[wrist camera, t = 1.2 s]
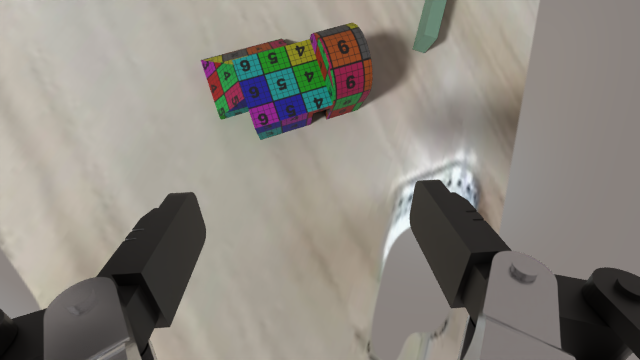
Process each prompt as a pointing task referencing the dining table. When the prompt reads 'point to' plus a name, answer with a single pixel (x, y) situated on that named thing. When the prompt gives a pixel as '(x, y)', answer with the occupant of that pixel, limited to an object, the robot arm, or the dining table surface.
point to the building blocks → (292, 79)
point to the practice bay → (429, 24)
